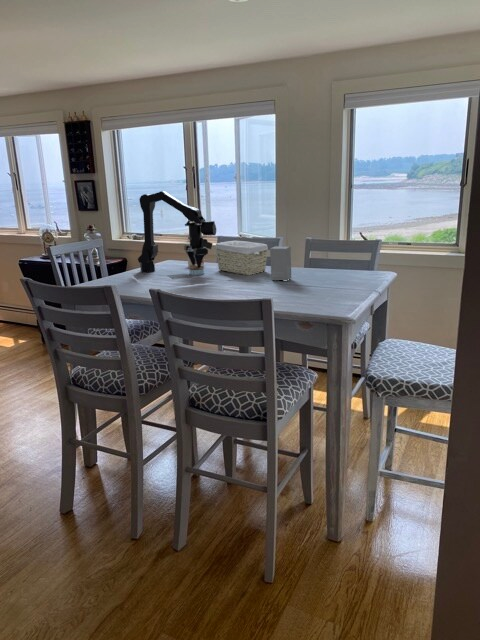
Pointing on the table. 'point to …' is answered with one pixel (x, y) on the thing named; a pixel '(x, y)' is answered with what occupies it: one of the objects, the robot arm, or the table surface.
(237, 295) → the table surface
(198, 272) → the bowl
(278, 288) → the table surface
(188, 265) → the teacup with lid
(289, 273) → the skincare box
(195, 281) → the table surface
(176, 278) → the mat
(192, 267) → the lid
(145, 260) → the robot arm
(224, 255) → the storage basket
